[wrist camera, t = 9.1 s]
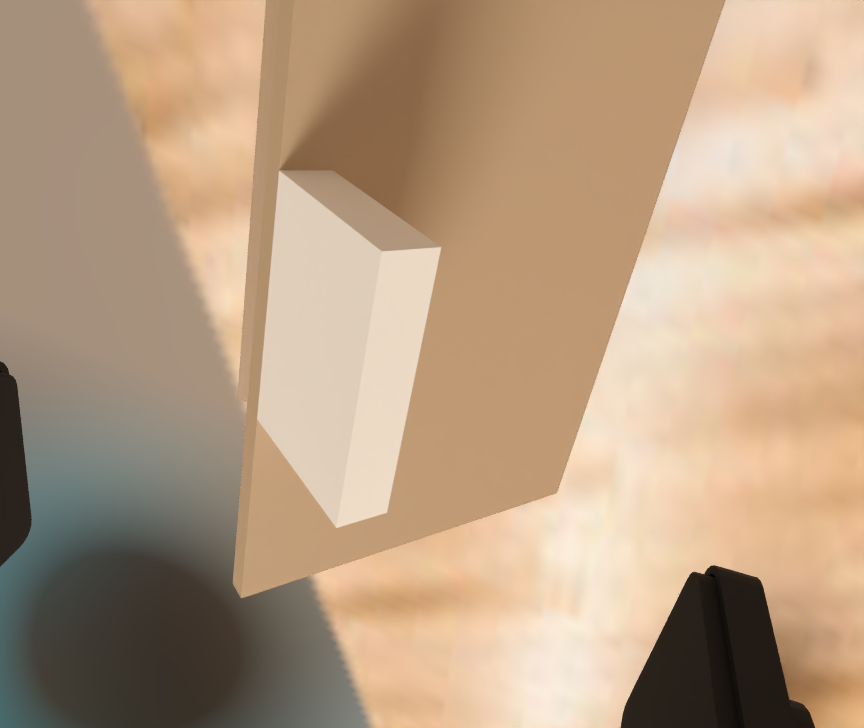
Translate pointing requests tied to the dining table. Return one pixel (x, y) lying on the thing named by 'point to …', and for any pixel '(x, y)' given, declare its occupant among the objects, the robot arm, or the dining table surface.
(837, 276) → the dining table surface
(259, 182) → the box
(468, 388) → the lid
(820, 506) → the dining table surface
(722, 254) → the dining table surface
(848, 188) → the dining table surface
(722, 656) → the robot arm
